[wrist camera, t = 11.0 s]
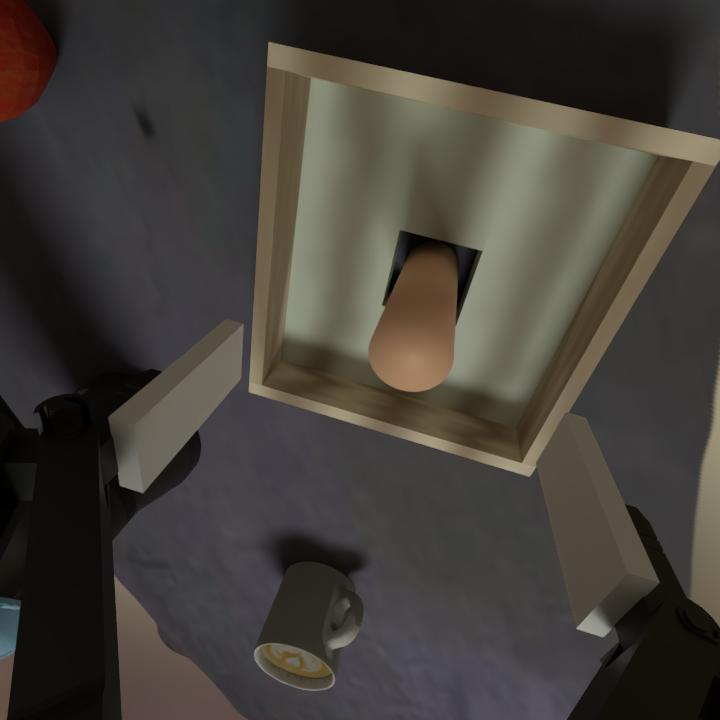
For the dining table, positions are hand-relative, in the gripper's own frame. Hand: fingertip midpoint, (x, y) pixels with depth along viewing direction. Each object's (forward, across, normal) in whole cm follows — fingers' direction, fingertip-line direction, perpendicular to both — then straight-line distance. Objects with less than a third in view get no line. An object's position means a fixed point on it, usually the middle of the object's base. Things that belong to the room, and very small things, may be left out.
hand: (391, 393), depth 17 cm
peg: (+17, +1, 0) cm, 17 cm away
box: (+17, +1, 0) cm, 17 cm away
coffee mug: (+18, 0, -45) cm, 48 cm away
